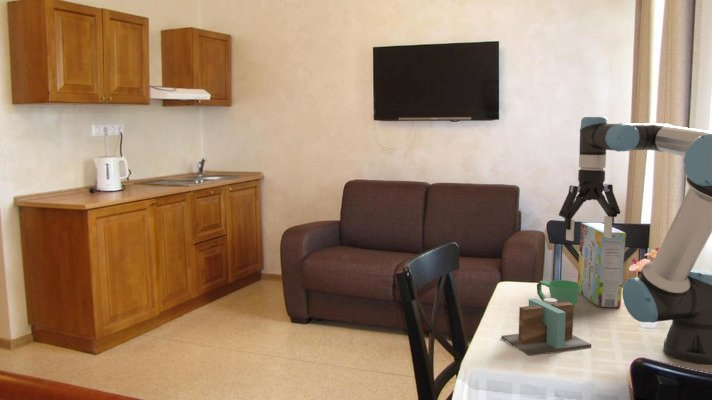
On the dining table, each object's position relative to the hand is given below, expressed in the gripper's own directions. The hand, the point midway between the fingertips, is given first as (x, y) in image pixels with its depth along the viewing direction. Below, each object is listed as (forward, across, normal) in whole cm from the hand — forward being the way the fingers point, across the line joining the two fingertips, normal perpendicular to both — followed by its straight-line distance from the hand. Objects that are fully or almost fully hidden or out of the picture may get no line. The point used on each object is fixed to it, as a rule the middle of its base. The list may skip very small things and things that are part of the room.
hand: (588, 239), depth 193 cm
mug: (+27, +1, -13) cm, 30 cm away
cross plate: (+26, +21, +10) cm, 35 cm away
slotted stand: (+27, +21, +10) cm, 35 cm away
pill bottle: (+27, +11, -2) cm, 29 cm away
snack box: (+27, -22, -22) cm, 41 cm away
